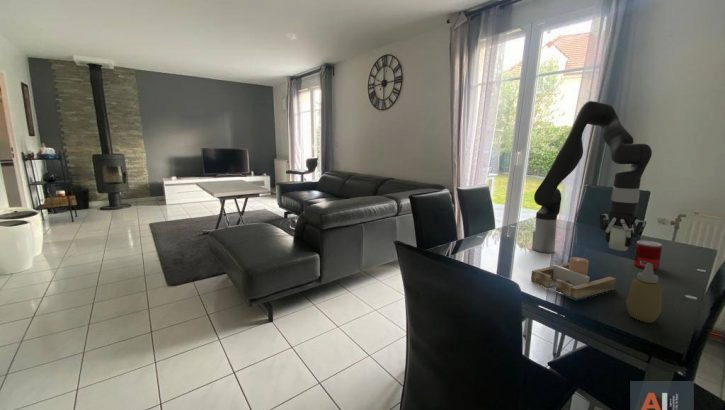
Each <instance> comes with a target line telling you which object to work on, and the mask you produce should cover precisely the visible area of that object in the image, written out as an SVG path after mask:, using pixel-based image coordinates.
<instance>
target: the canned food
mask: <svg viewBox="0 0 725 410" xmlns="http://www.w3.org/2000/svg"><path fill="white" fill-rule="evenodd" d="M662 248H663V244H662V243H661V242H657V241H651V240H646V239H645V240H644V239H642V240H641V239H640V240H637V241H636V245H635V253H634V258H633V259H634V260H633V265H634V266H635V267H637V268H638V267H639V268H638V269H642V270H644V268H645V266H646V264H647V263H651V264H652V266H653V271H655V270H658V269H659V267H660V261H661V255H662Z"/></svg>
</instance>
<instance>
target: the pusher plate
mask: <svg viewBox="0 0 725 410" xmlns="http://www.w3.org/2000/svg"><path fill="white" fill-rule="evenodd" d="M558 265H559V264H554V265H553V266H554V271H553V279H552V280H554V281H557V280H558V279H559V280H562V281H564V282H567V283H569V284H571V285H573V286H577V285H581V284H584V283H588V282H590V280H591V279H590V277H591V276H588V275H587V276H586V275H583V274H580V273H577V272H575V271H572V270H569V269H566V268H564V267H561V266H558ZM544 288H545V289H546V290H548V289H549V288H550V289H551V288H556V283H554V284H550V285H549V286H545V287H544Z"/></svg>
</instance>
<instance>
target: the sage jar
mask: <svg viewBox="0 0 725 410" xmlns="http://www.w3.org/2000/svg"><path fill="white" fill-rule="evenodd" d="M628 228H629V227H628ZM626 237H627V235H626V231H625V230H624V228H623V227H622V226H617V225H613V227H611V232H610V240H609V242H608V248H609V249H611V250H613V251H614V250H615V251H618V252H619V251H621V252H625V251H628V250H629V247H625V243H626Z"/></svg>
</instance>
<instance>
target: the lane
mask: <svg viewBox="0 0 725 410" xmlns="http://www.w3.org/2000/svg"><path fill="white" fill-rule="evenodd" d="M569 262H570V261H569ZM569 262H564V263H559V264H557V265H558V266H561V267H564V268H566V269H569ZM553 271H554V265H552V266H551V265H550V266H547V267H542V268H538V269H533V270H531V277H530V278H531V279H530V281H531V282H532V283H534V284H537V285H538V284H539V286H541V285H542V286H541V287H543V286H544V287H543V288H545V286H549V285H551V281H552V280H554V279H553ZM555 281H556V280H555ZM616 282H617V279H616V277H612V276H607V277H603V278H599V279H597V280H592V281H589V282H588V283H584V284H581V285H577V286H573V285H571V284H569V283H567V282H564V281H562V280H559V279H558V280H557V281H556V283H555V284H556V287H555V292H556V291H558V292H561V293H563V294H566V295H568V296H571V297H574V298H576V299H577V298H583V297H587V296H590V295H594V294H597V293H601V292H603V291H608V290H611V289H615V288H616Z"/></svg>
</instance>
